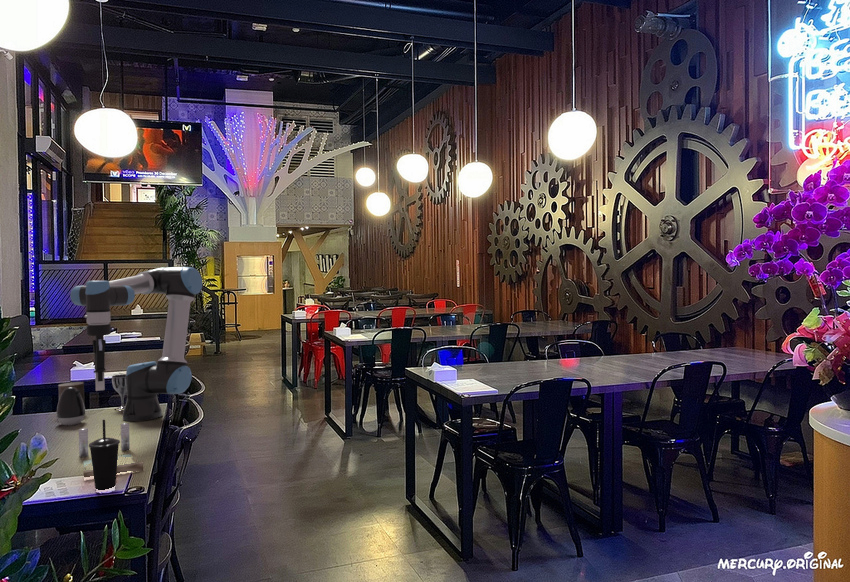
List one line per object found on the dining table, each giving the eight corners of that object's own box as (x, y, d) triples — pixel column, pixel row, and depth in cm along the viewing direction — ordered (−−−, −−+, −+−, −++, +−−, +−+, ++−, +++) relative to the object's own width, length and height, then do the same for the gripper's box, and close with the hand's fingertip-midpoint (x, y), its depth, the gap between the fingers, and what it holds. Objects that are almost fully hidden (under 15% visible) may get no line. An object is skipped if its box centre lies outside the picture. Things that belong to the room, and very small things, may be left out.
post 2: (129, 448, 214) (128, 422, 214) (130, 450, 212) (129, 424, 212) (120, 449, 213) (120, 423, 212) (121, 451, 210) (121, 425, 210)
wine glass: (134, 406, 283) (133, 373, 283) (129, 410, 275) (128, 376, 275) (116, 407, 282) (115, 374, 281) (110, 411, 274) (109, 377, 273)
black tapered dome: (70, 427, 244) (69, 389, 243) (50, 426, 247) (49, 388, 247) (91, 421, 254) (90, 385, 253) (72, 420, 257) (71, 384, 256)
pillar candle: (88, 415, 266) (87, 380, 266) (63, 419, 259) (62, 383, 259) (80, 412, 273) (79, 378, 273) (55, 415, 266) (54, 381, 265)
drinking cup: (105, 485, 176) (103, 416, 176) (127, 487, 174) (125, 417, 173) (83, 494, 169) (81, 422, 168) (105, 497, 167) (104, 424, 166)
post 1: (87, 454, 207) (87, 427, 207) (88, 456, 205) (87, 429, 205) (79, 455, 206) (78, 428, 206) (79, 457, 204) (78, 430, 203)
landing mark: (130, 454, 207) (130, 453, 207) (136, 465, 195) (136, 464, 195) (82, 461, 199) (82, 461, 199) (85, 473, 187) (85, 472, 187)
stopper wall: (142, 469, 190) (142, 461, 190) (143, 471, 189) (143, 463, 189) (83, 479, 182) (83, 470, 182) (83, 481, 180) (83, 472, 180)
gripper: (85, 323, 222) (86, 388, 223) (87, 325, 211) (89, 394, 212) (108, 322, 226) (110, 386, 227) (112, 324, 215) (113, 391, 216)
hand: (100, 390), depth 219 cm, fingers closed
